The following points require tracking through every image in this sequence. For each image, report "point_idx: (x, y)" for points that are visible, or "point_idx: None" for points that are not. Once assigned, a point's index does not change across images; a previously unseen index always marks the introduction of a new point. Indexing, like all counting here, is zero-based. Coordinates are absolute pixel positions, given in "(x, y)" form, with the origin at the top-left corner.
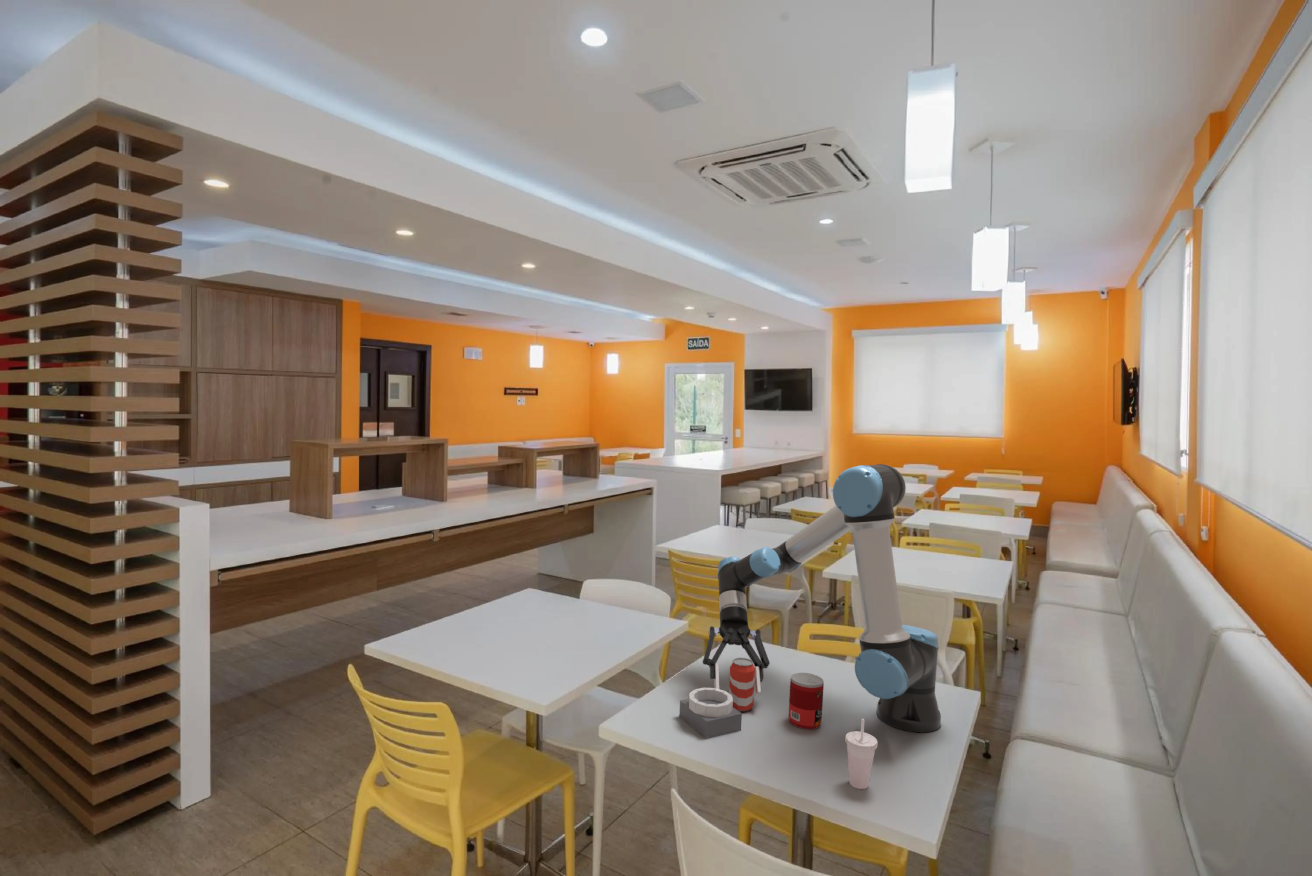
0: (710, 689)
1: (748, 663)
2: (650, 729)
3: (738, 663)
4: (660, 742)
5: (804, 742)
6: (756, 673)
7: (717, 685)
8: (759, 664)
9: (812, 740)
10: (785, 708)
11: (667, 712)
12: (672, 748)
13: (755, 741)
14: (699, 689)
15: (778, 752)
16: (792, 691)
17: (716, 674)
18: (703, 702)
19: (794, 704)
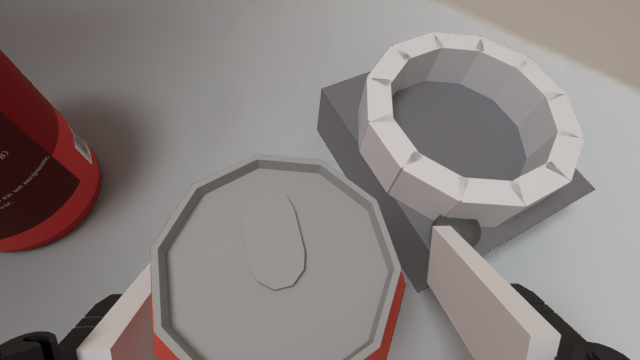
0: (486, 183)
1: (213, 248)
2: (608, 130)
3: (331, 240)
4: (554, 69)
5: (122, 67)
6: (145, 302)
7: (452, 234)
8: (55, 342)
9: (87, 77)
10: (45, 329)
11: (600, 249)
12: (514, 45)
13: (282, 72)
14: (546, 180)
15: (229, 27)
16: (9, 75)
17: (494, 275)
18: (487, 174)
19: (49, 105)
